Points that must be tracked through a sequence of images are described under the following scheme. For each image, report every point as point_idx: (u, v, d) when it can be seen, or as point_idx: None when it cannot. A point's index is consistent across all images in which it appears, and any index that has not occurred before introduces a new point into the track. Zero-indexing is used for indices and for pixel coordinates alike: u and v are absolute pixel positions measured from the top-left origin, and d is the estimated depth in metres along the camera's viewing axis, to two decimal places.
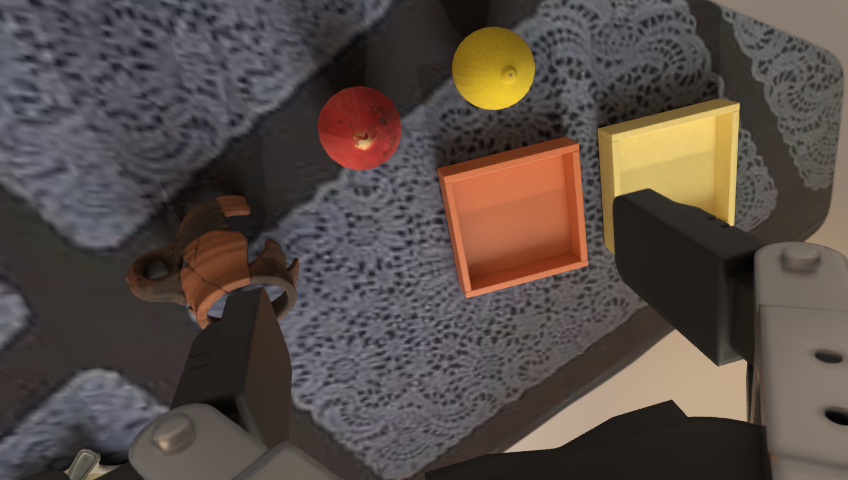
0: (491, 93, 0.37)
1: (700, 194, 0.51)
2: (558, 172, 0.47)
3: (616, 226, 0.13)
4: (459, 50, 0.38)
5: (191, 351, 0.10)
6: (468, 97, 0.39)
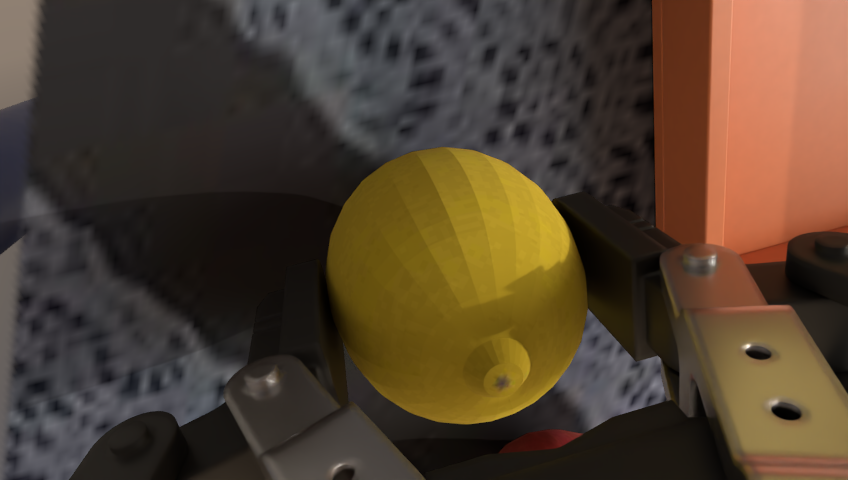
0: (548, 386, 0.10)
1: None
2: None
3: None
4: None
5: (257, 316, 0.11)
6: None
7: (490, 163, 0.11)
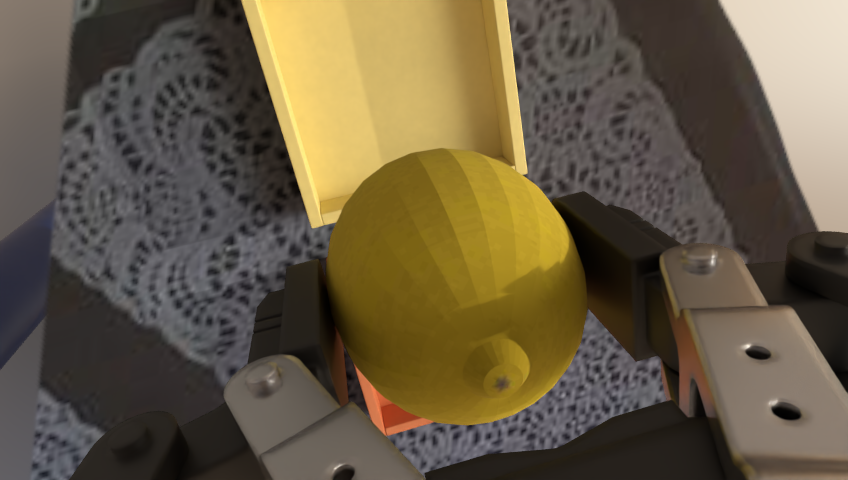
0: (548, 387, 0.10)
1: None
2: None
3: None
4: None
5: (257, 316, 0.11)
6: None
7: (490, 164, 0.11)
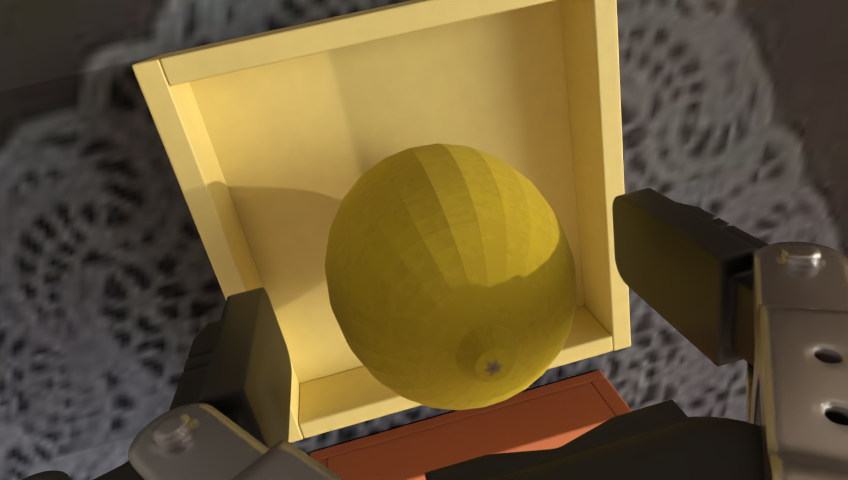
0: (539, 373, 0.11)
1: (484, 64, 0.15)
2: None
3: (616, 226, 0.13)
4: None
5: (191, 351, 0.10)
6: None
7: (483, 159, 0.12)
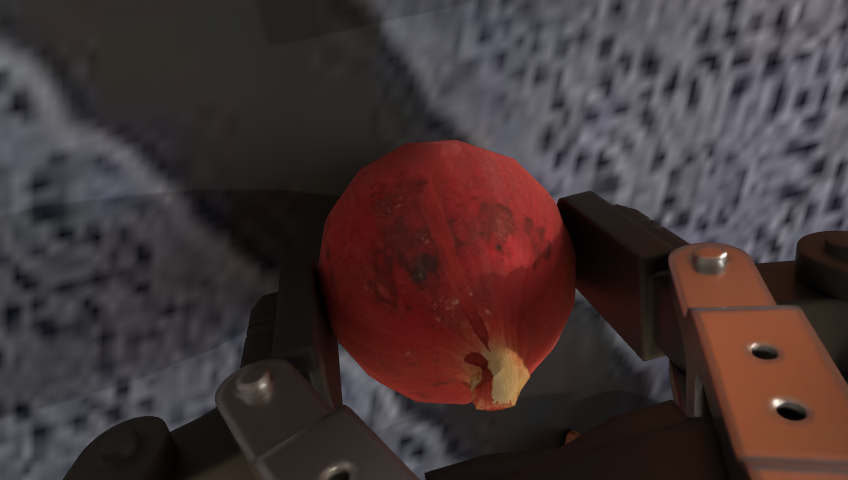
0: None
1: None
2: None
3: None
4: None
5: (251, 319, 0.11)
6: None
7: None
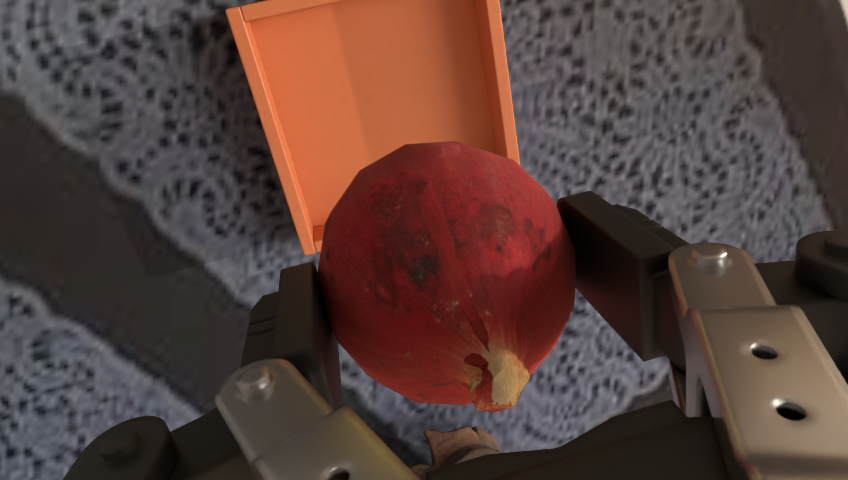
0: None
1: None
2: (302, 22, 0.25)
3: None
4: None
5: (251, 319, 0.11)
6: None
7: None
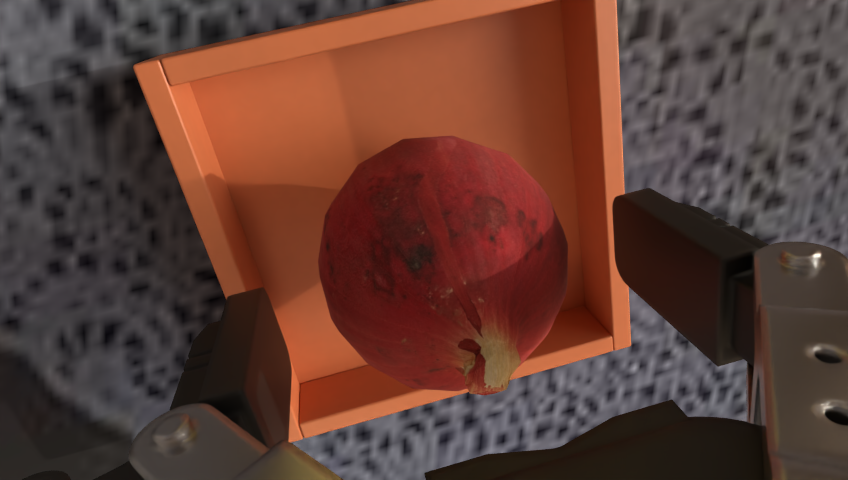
0: None
1: None
2: (279, 77, 0.15)
3: (616, 226, 0.13)
4: None
5: (191, 351, 0.10)
6: None
7: None
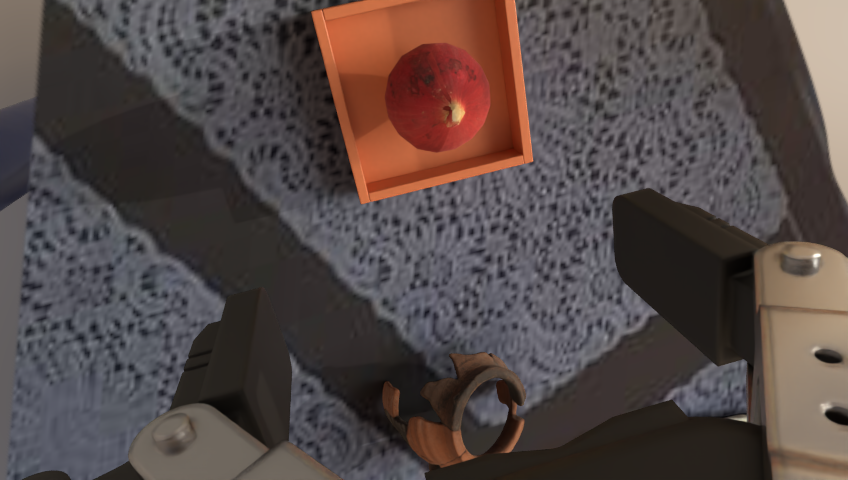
0: None
1: None
2: (363, 21, 0.32)
3: (616, 226, 0.13)
4: None
5: (191, 351, 0.10)
6: None
7: None
